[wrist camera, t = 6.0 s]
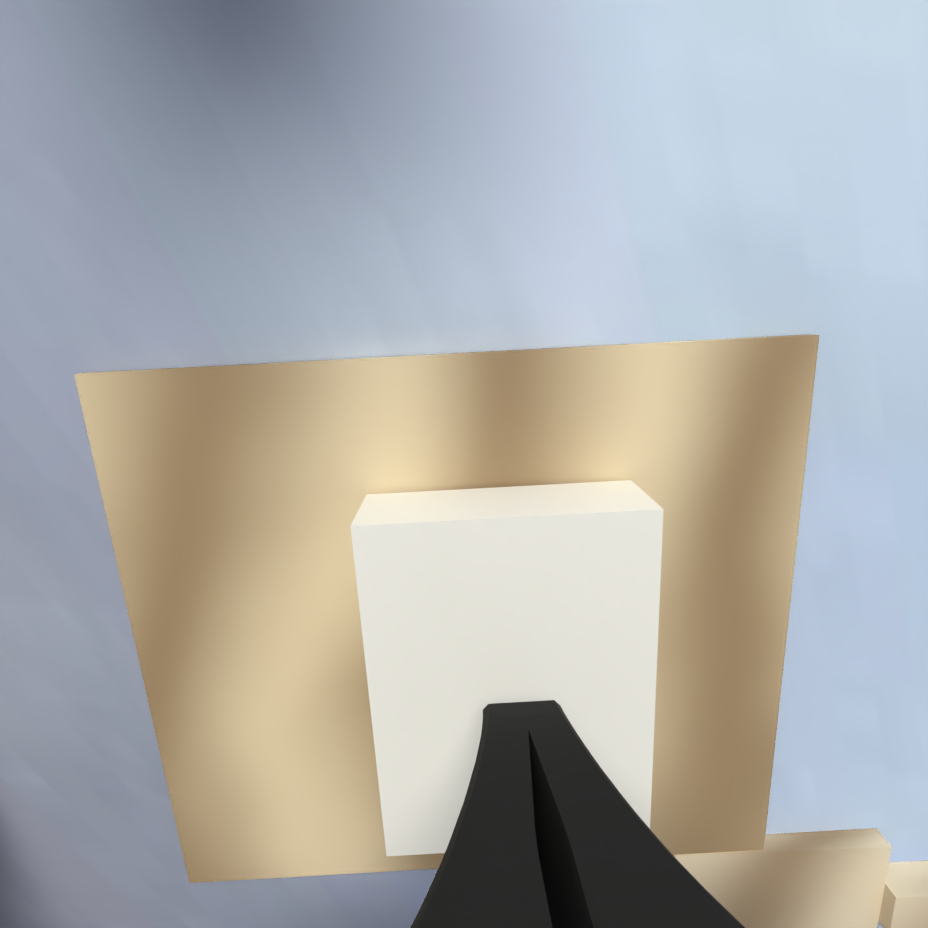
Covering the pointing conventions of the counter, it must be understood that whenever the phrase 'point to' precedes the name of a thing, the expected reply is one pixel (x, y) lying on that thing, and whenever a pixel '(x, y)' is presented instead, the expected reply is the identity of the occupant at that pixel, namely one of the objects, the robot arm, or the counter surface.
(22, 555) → the counter surface
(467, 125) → the counter surface
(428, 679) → the white block
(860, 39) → the counter surface
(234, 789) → the bamboo mat
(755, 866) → the beech spatula
